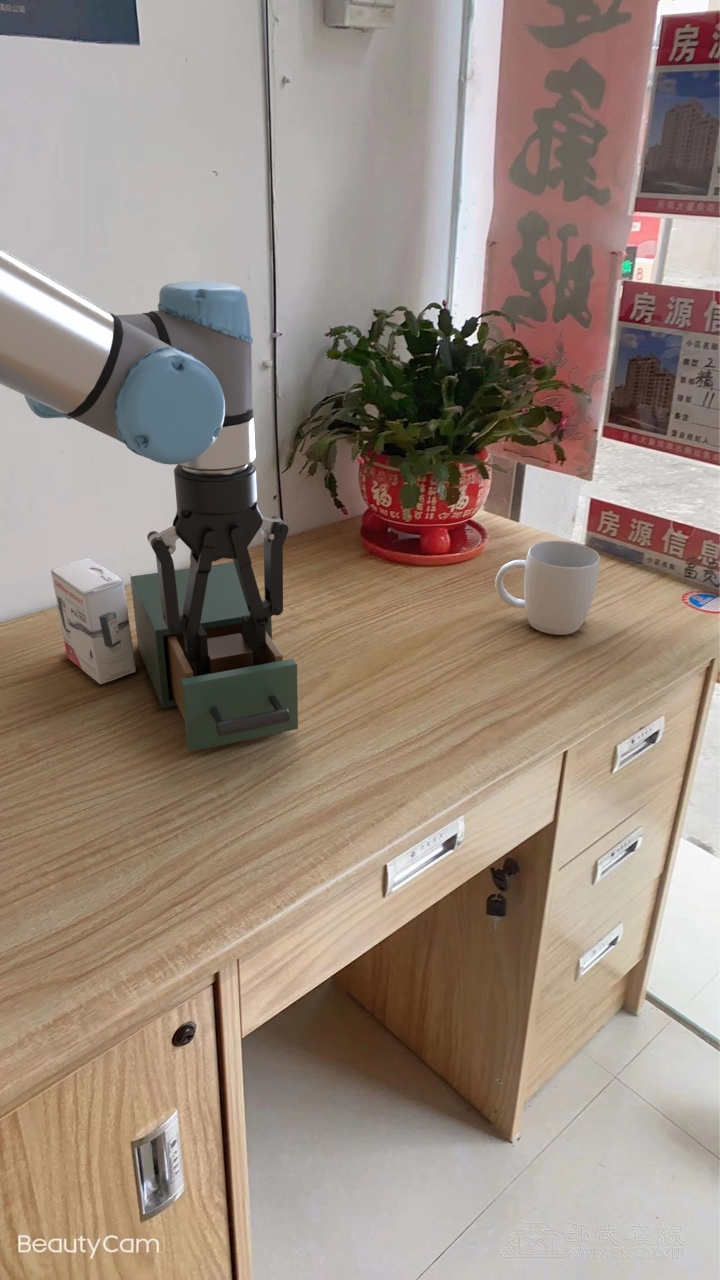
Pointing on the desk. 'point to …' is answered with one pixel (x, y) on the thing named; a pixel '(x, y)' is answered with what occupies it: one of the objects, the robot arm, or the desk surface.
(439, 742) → the desk surface
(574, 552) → the mug
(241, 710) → the drawer
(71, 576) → the ink box
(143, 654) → the cabinet
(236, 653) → the block
